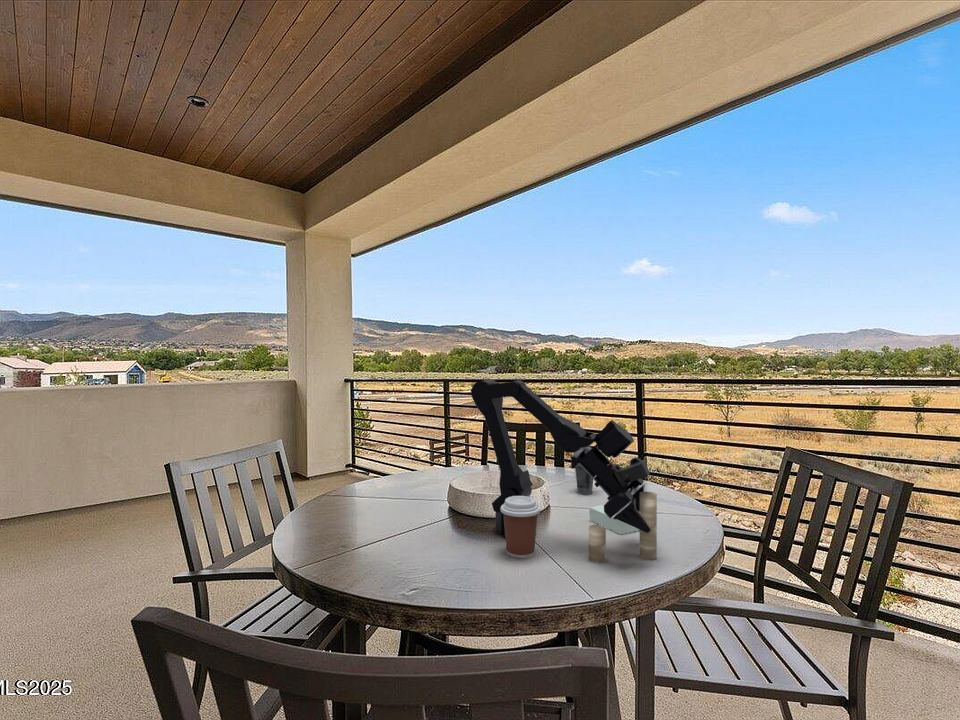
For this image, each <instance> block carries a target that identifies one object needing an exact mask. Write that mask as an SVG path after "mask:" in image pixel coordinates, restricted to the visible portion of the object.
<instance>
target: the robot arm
mask: <svg viewBox="0 0 960 720" xmlns="http://www.w3.org/2000/svg"><path fill="white" fill-rule="evenodd" d="M470 396H471V398H472V400H473V402H474V404H475V405H474V406H476V408H477V410H478V411H479V412H480V413H481V414H482V415H483V417H484V419H485V423H486V427H487V429H488V433H489V437H490V439H491V443H492V448H493V450H494V454H495V458H496V460H497V461H496V462H497V463H498V468H499V471H500V475H499V476H500V477H499V483H498V485H499V492H500V495H499V496H498V497H497V498H495V499H494V501H492V503H491V506H492V510H493V511H494V512H495V527H494V528H492V531H493V532H494V533H496V534H497V535H499V536H500V537H502V538H503V539H505V527H504V515H503V513H502V512H501V511H500V508H501V506H502V505H503V504H504V503H505V499H506V498H508V497H512V496H528V497H531V494H532V490H533V489H532V487H533V486H534V483H533V482H532V480H531V478H530V473H529V470H528V469H526V470H523V469H522V468H521V467H520V465H519V463H518V461H517V456H516V454H515V450H514V447H513V443H512V441H511V438H510V437H511V436H510V434H509V431H508V427H507V423H506V420H505V417H504V414H503V405H504V398H510V397H511V398H513V399H514V400H515V401H516V402H517V403H519V404H520V406H522V407H523V408H524V409H525V410H526V411H528V412H529V413H530V414H531V415H532V416H533V417H534V418H535V419H536V420H537V421H539V423H541V424H542V425H543V426H544V427H545V428H546V429H547V431H549V434H550V436H551V438H552V439H553V440H554V442H555V443H556V445H558V447H559V448H560V449H561V450H562V451H563V452H565V453H567V454H572V456H571V457H570V460H571V463H570V469H576V468H575V467H576V466H578V465H579V464H580V465H581V466H582V467H583V468H584V470H585V471H586V472H587V473H588V474H589V475H590V476H591V477H592V478H593V482H594V481H595V482H594V483H593V486H595V487H596V488H599V487H600V488H601V489H602V491H603V492H604V493H605V494H606V495H607V496H608V497H607V498H606V499H607V501H606V502H605V504H603V505H604V512H605V513H606V515H607V516H608V517H609V518H612V517H613V516H614V515H615V514H616V513H617V514H616V515H615V516H614V517H613V519H617V520H619V521H622V522H624V523H626V524H629V525H631V526H633V527H635V528H637V529H639V530H641V531H644V532H646V533H649V532H650V531H651V529H650V527H649V526H648V524H647V523H646V521H645V520H644V519H643V517H642V516H641V514H640V513H639V512H640V492H645V484H644V482H645V481H644V480H643V479H646V478H648V477H649V475H651V472H650V469H649V467H648V463H647V462H646V461H645V459H641V458H640V457H638V456H635V457H633V458H631V459H630V461H629V462H630V463H629V464H628V465H626V466H624V467H621V466H620V465H619V464H617V463H615V464H614V463H612V462H611V460H609V458H610V457H612V458H615V459H616V458H617V457H619V456H620V455H621V454H622V453H623V452H624V451H625V450H626V449H627V448H629V447H630V446H631V445H632V444H633V443H634V442H635V440H634V438H633V436H632V435H631V433H630V431H628V429H626V427H625V428H624V427H623V426H621V424H618V423H616V421H614V420H613V419H611V420H610V421H609V422H607V423H606V425H605V426H604V428H603V429H601V430H600V431H599V432H598V433H596V432H591V431H586V429H585V428H584V427H582V426H581V425H579V424H577V423H576V422H574V421H573V420H570V419H569V418H568V419H567V418H566V417H563V416H562V415H560V414H559V413H558V412H557V411H556V410H554V409H553V407H552V406H550V405H549V404H548V403H547V402H545V401H544V400H543V399H542V398H541V397H540V396H539V395H538V394H536V393H535V391H533V390H532V389H531V388H530V387H529V386H527V385H526V383H525V382H524V381H523V380H519V379H518V380H513V381H512V380H511V381H508V382H498V381H496V380H493V379H486V380H479V381H476V382H474V384H473V385H472V387H471V389H470ZM593 444H595V445H594V446H593V447H591V445H593ZM588 446H590V447H591V448H592V449H591V450H589V449H584V450H583V451H582V452H581V453H580V454H579V455H578V456H575V455H574V454H573V453H575V452H577V451H578V450H580V449H581V448H583V447H588ZM638 511H639V512H638Z"/></svg>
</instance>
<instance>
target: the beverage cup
mask: <svg viewBox="0 0 960 720" xmlns="http://www.w3.org/2000/svg"><path fill="white" fill-rule="evenodd" d="M592 448H593V447H591V445H590V446H588V447H583V448H581V449H580V450H578V451H577V452H574V454H573V455H575V456H578V455H579V454H580V453H581V452H582V451H583V450H584V449H589V450H591V449H592ZM574 469H575V478H576V487H577V488H576V489H577V494H578V493H579V495H581V494H582V495H583V496H590V495H589V494H591V495H592V494H593V487H594V479H593V478H592V477H591V476H590V475H589V474H588V473H587V472H586V471H585V470H584V468H583V467H582V466H581V465H580V464H579V465H578V466H576V467H575V468H574ZM582 495H581V496H582Z"/></svg>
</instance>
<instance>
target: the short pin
mask: <svg viewBox="0 0 960 720" xmlns="http://www.w3.org/2000/svg"><path fill="white" fill-rule="evenodd" d="M606 529H607V528H605V527H604V526H601V525H598V524H591V525H589V526H588V560H589V561H590V562H592V563H596V562H598V563H597V564H600V563H601V562H602V563H605V562H606V561H607V559H606V558H607V555H606V553H607V550H606V549H607V547H606V546H607V545H606V542H607V537H606V535H607V530H606ZM602 563H601V564H602Z"/></svg>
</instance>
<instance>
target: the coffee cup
mask: <svg viewBox="0 0 960 720" xmlns="http://www.w3.org/2000/svg"><path fill="white" fill-rule="evenodd" d="M536 501H537V500H536V499H535V498H534V497H532V496H530V497H528V496H512V497H508V498H506V499H505V503H504V504H503V505H502V506H501V508H500V511H501V512H502V513H503V515H504V527H505V538H504V539H505V549H506V554H507V555H508V556H509V557H511V558H515V559H516V558H517V559H528V558H532V557H533V556H534V555H535V553H536V551H535V550H536V538H537V537H536V536H537V535H536V534H537V525H538V524H537V523H538V515H539V514H540V513H541V506H540V505H538V503H537V502H536Z"/></svg>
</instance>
